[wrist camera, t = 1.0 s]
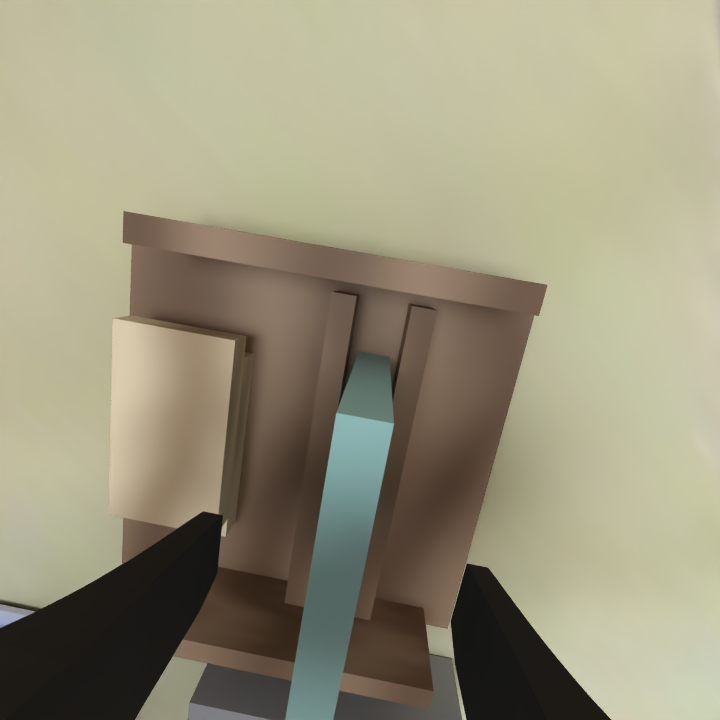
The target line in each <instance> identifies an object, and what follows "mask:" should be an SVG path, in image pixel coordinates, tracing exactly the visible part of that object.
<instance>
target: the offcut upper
mask: <svg viewBox="0 0 720 720" xmlns="http://www.w3.org/2000/svg"><path fill="white" fill-rule="evenodd" d="M245 346H246V336H242V335H237V334H231V333H226V332H220V331H215V330H209V329H204V328H198V327H193V326H188V325H182V324H177V323H171V322H166V321H160V320H155V319H149V318H144V317H138V316H127V317H119V318H113V334H112V382H111V429H110V477H109V515H113V516H118V517H123V518H128V519H133V520H138V521H143V522H148V523H153V524H158V525H163V526H168V527H173V528H179V527H180V526H182V525H183V524H185V523H186V522H187V521H189V520H190V519H192V518H193V517H195V516H197V515H198V514H200V513H201V512H203V511H204V512H209V513H214V514H219V515H223V521H222V527H223V525H224V524H225V522H226V521H227V519H228V510H229V501H230V491H231V481H232V472H233V462H234V452H235V443H236V433H237V423H238V414H239V404H240V394H241V385H242V375H243V365H244V356H245Z"/></svg>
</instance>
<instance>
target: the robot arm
mask: <svg viewBox="0 0 720 720" xmlns="http://www.w3.org/2000/svg"><path fill="white" fill-rule="evenodd" d="M222 521H223V515H219V514H214V513H209V512H204V511H203V512H201V513H200V514H198V515H197V516H195V517H193V518H192V519H190V520H189V521H187V522H186V523H185V524H183V525H182V526H180V527H179V528H177V529H176V530H174V531H173V532H171V533H170V534H168V535H167V536H165V537H164V538H162V539H161V540H159V541H158V542H156V543H155V544H153V545H152V546H150V547H149V548H147V549H146V550H144V551H143V552H141V553H139V554H138V555H136V556H135V557H133V558H132V559H130V560H129V561H127V562H125V563H124V564H122V565H120V566H119V567H117V568H115V569H114V570H112V571H110V572H109V573H107V574H105V575H104V576H102V577H100V578H99V579H97V580H95V581H93V582H92V583H90V584H88V585H86V586H84V587H83V588H81V589H79V590H77V591H75V592H73V593H72V594H70V595H68V596H66V597H64V598H62V599H60V600H58V601H56V602H54V603H52V604H50V605H48V606H46V607H44V608H42V609H40V610H38V611H31V610H26V609H21V608H16V607H11V606H7V605H2V604H0V720H135V719H136V717H137V715H138V713H139V712H140V710H141V708H142V706H143V705H144V703H145V701H146V700H147V698H148V696H149V695H150V693H151V691H152V690H153V688H154V686H155V685H156V683H157V681H158V680H159V678H160V676H161V675H162V673H163V671H164V670H165V668H166V666H167V665H168V663H169V662H170V660H171V658H172V657H173V655H174V653H175V652H176V650H177V648H178V647H179V645H180V643H181V642H182V640H183V638H184V637H185V635H186V633H187V632H188V630H189V628H190V627H191V625H192V623H193V622H194V620H195V618H196V616H197V615H198V613H199V611H200V609H201V607H202V605H203V603H204V601H205V599H206V597H207V595H208V593H209V591H210V588H211V586H212V584H213V582H214V580H215V578H216V575H217V572H218V562H219V551H220V541H221V531H222ZM451 628H452V639H453V648H454V657H455V665H456V670H457V675H458V680H459V685H460V690H461V695H462V700H463V705H464V709H465V714H466V719H467V720H611V719H610V718H609V717H608V716H607V715H606V714H605V713H604V712H603V710H602V709H601V708H600V707H599V706H598V705H597V704H596V703H595V702H594V701H593V700H592V699H591V697H590V696H589V695H588V694H587V693H586V692H585V691H584V690H583V688H582V687H581V686H580V685H579V684H578V683H577V681H576V680H575V679H574V678H573V677H572V675H571V674H570V673H569V672H568V671H567V669H566V668H565V667H564V666H563V665H562V664H561V662H560V661H559V660H558V659H557V658H556V656H555V655H554V654H553V653H552V651H551V650H550V649H549V648H548V646H547V645H546V644H545V643H544V641H543V640H542V639H541V638H540V636H539V635H538V634H537V632H536V631H535V630H534V629H533V627H532V626H531V625H530V623H529V622H528V621H527V619H526V618H525V617H524V615H523V614H522V613H521V611H520V610H519V609H518V607H517V606H516V605H515V603H514V602H513V601H512V599H511V598H510V597H509V595H508V594H507V592H506V591H505V590H504V588H503V587H502V586H501V584H500V583H499V582H498V580H497V579H496V577H495V576H494V575H493V573H492V572H491V571H490V570H489V568H487V567H482V566H477V565H472V564H467V565H466V569H465V572H464V576H463V579H462V583H461V587H460V590H459V594H458V597H457V601H456V605H455V608H454V612H453V615H452V619H451Z"/></svg>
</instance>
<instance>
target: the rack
mask: <svg viewBox="0 0 720 720" xmlns="http://www.w3.org/2000/svg"><path fill="white" fill-rule="evenodd" d="M123 243H128V244H132V260H131V292H130V316H138V317H144V318H149V319H155V320H160V321H166V322H171V323H177V324H182V325H188V326H193V327H198V328H204V329H209V330H215V331H220V332H226V333H231V334H237V335H242V336H246V346H245V352H249V353H254V357H253V367H252V376H251V385H250V394H249V403H248V412H247V421H246V431H245V440H244V449H243V458H242V467H241V476H240V486H239V495H238V504H237V513H236V521H235V523H234V524H233V526H232V528H231V529H230V531H229V532H228V534H227V536H226V537H225V536H221V541H220V551H219V562H218V572H217V575H216V578H215V580H214V582H213V584H212V586H211V588H210V591H209V593H208V595H207V597H206V599H205V601H204V603H203V605H202V607H201V609H200V611H199V613H198V615H197V616H196V618H195V620H194V622H193V623H192V625H191V627H190V628H189V630H188V632H187V633H186V635H185V637H184V638H183V640H182V642H181V643H180V645H179V647H178V648H177V650H176V652H175V653H174V655H173V656H176V657H180V658H185V659H190V660H195V661H200V662H204V663H209V664H214V665H219V666H224V667H228V668H233V669H238V670H243V671H248V672H252V673H257V674H262V675H267V676H272V677H276V678H281V679H286V680H291V681H292V676H293V670H294V664H295V658H296V652H297V646H298V640H299V634H300V628H301V622H302V616H303V610H304V604H305V598H306V592H307V586H308V580H309V574H310V568H311V562H312V556H313V550H314V544H315V538H316V532H317V526H318V520H319V514H320V508H321V502H322V496H323V490H324V484H325V478H326V472H327V466H328V460H329V454H330V448H331V442H332V436H333V430H334V424H335V418H336V413H337V410H338V407H339V404H340V402H341V399H342V396H343V394H344V391H345V388H346V385H347V383H348V380H349V377H350V374H351V372H352V369H353V366H354V364H355V361H356V358H357V355H358V353H359V351H361V352H367V353H372V354H378V355H383V356H389V359H390V373H391V387H392V401H393V416H394V426H393V431H392V436H391V441H390V446H389V451H388V456H387V461H386V465H385V470H384V475H383V480H382V485H381V490H380V495H379V500H378V504H377V509H376V514H375V519H374V524H373V529H372V534H371V538H370V543H369V548H368V553H367V558H366V563H365V568H364V573H363V577H362V582H361V587H360V592H359V597H358V602H357V607H356V612H355V616H354V621H353V626H352V631H351V636H350V641H349V646H348V650H347V655H346V660H345V665H344V670H343V675H342V680H341V685H340V689H339V691H344V692H349V693H353V694H358V695H363V696H368V697H373V698H377V699H382V700H387V701H392V702H397V703H401V704H406V705H411V706H416V707H421V708H425V709H429V706H430V703H431V699H432V696H433V692H434V690H433V681H432V673H431V665H430V657H429V648H428V640H427V632H426V624H427V625H432V626H437V627H442V628H447V629H448V625H449V621H450V618H451V614H452V610H453V607H454V603H455V600H456V596H457V592H458V589H459V585H460V582H461V578H462V574H463V571H464V567H465V564H466V560H467V556H468V553H469V549H470V546H471V542H472V538H473V535H474V531H475V527H476V524H477V520H478V517H479V513H480V509H481V506H482V502H483V499H484V495H485V491H486V488H487V484H488V481H489V477H490V473H491V470H492V466H493V462H494V459H495V455H496V452H497V448H498V444H499V441H500V437H501V434H502V430H503V426H504V423H505V419H506V416H507V412H508V408H509V405H510V401H511V398H512V394H513V390H514V387H515V383H516V379H517V376H518V372H519V369H520V365H521V361H522V358H523V354H524V351H525V347H526V343H527V340H528V336H529V333H530V329H531V325H532V322H533V318H534V315H536V316H539V313H540V310H541V306H542V303H543V299H544V295H545V292H546V288H547V285H545V284H539V283H533V282H528V281H522V280H516V279H510V278H505V277H499V276H493V275H487V274H482V273H476V272H470V271H464V270H459V269H453V268H447V267H441V266H436V265H430V264H424V263H418V262H413V261H407V260H401V259H395V258H390V257H384V256H378V255H372V254H367V253H361V252H355V251H349V250H344V249H338V248H332V247H326V246H320V245H315V244H309V243H303V242H297V241H292V240H286V239H280V238H274V237H269V236H263V235H257V234H251V233H246V232H240V231H234V230H228V229H223V228H217V227H211V226H205V225H200V224H194V223H188V222H182V221H177V220H171V219H165V218H159V217H154V216H148V215H142V214H136V213H131V212H125V211H124V216H123ZM176 529H177V528H173V527H168V526H163V525H158V524H153V523H148V522H143V521H138V520H133V519H128V518H123V548H122V563H125V562H127V561H129V560H130V559H132V558H133V557H135V556H136V555H138V554H139V553H141V552H143V551H144V550H146V549H147V548H149V547H150V546H152V545H153V544H155V543H156V542H158V541H159V540H161V539H162V538H164V537H165V536H167V535H168V534H170V533H171V532H173V531H174V530H176Z"/></svg>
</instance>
